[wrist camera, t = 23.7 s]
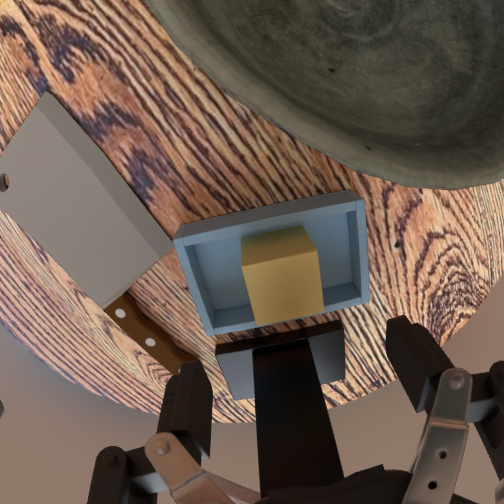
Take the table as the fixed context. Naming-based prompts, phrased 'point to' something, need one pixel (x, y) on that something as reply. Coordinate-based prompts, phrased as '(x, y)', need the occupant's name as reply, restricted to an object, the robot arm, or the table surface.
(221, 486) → the cutter lever
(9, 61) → the table surface
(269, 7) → the bowl
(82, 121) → the table surface
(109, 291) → the kitchen cleaver
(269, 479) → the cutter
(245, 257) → the butter pat
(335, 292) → the butter dish
